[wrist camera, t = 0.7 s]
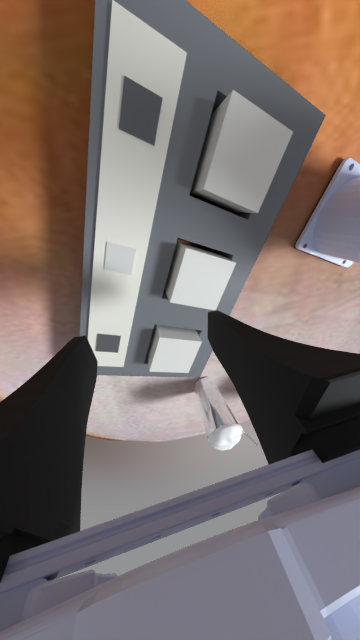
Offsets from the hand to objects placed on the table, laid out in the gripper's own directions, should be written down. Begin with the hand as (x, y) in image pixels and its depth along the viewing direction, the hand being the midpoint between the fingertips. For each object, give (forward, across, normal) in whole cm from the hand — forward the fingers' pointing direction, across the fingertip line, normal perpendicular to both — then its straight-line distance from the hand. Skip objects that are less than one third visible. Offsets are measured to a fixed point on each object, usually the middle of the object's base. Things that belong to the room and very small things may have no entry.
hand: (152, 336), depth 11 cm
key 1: (+7, -8, -8) cm, 14 cm away
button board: (+9, -3, -2) cm, 10 cm away
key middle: (+7, -5, -1) cm, 9 cm away
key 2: (+7, -2, +6) cm, 10 cm away
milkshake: (+9, -7, +18) cm, 21 cm away
